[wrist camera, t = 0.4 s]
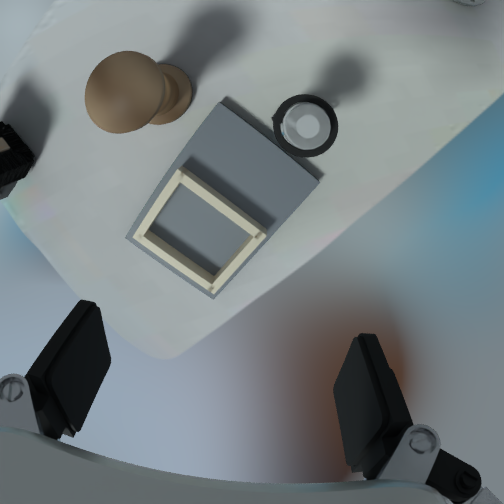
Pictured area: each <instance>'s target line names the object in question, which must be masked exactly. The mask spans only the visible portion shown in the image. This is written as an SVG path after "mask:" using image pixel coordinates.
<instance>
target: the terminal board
mask: <svg viewBox="0 0 504 504" xmlns="http://www.w3.org/2000/svg"><path fill="white" fill-rule="evenodd" d="M319 183H320V182H319V181H318V180H317V179H316V178H315V177H314V176H313V175H311V174H310V173H309V172H308V171H307V170H306V169H304V168H303V167H302V166H301V165H300V164H299V163H297V162H296V161H295V160H294V159H293V158H291V157H290V156H289V155H288V154H286V153H285V152H284V151H283V150H282V149H280V148H279V147H278V146H277V145H275V144H274V143H273V142H272V141H270V140H269V139H268V138H267V137H265V136H264V135H263V134H262V133H260V132H259V131H258V130H256V129H255V128H254V127H253V126H251V125H250V124H249V123H247V122H246V121H245V120H243V119H242V118H241V117H239V116H238V115H237V114H235V113H234V112H233V111H231V110H230V109H229V108H227V107H226V106H225V105H223V104H222V103H220V102H218V104H217V105H216V106H215V107H214V109H213V110H212V111H211V112H210V114H209V115H208V116H207V118H206V119H205V120H204V122H203V123H202V124H201V125H200V127H199V128H198V129H197V131H196V132H195V133H194V135H193V136H192V137H191V139H190V140H189V142H188V143H187V144H186V146H185V147H184V148H183V150H182V151H181V153H180V154H179V155H178V157H177V158H176V160H175V161H174V162H173V164H172V165H171V167H170V168H169V170H168V171H167V173H166V174H165V176H164V177H163V178H162V180H161V181H160V183H159V184H158V186H157V187H156V189H155V190H154V192H153V194H152V195H151V197H150V198H149V200H148V201H147V203H146V204H145V206H144V207H143V209H142V211H141V212H140V214H139V215H138V217H137V219H136V220H135V222H134V224H133V225H132V227H131V228H130V230H129V232H128V233H127V235H126V237H125V238H126V239H127V240H129V241H130V242H131V243H133V244H134V245H135V246H137V247H138V248H140V249H141V250H142V251H144V252H145V253H146V254H148V255H149V256H151V257H152V258H153V259H155V260H156V261H158V262H159V263H161V264H162V265H163V266H165V267H166V268H168V269H169V270H171V271H172V272H173V273H175V274H176V275H178V276H179V277H181V278H182V279H184V280H185V281H187V282H188V283H189V284H191V285H192V286H194V287H195V288H197V289H198V290H200V291H201V292H203V293H204V294H206V295H207V296H209V297H210V298H212V299H213V300H214V299H215V297H216V296H217V295H218V294H219V293H220V292H221V291H222V290H223V289H224V288H225V287H226V285H227V284H228V283H229V282H230V281H231V280H232V279H233V278H234V277H235V276H236V275H237V273H238V272H239V271H240V270H241V269H242V268H243V267H244V266H245V265H246V264H247V262H248V261H249V260H250V259H251V258H252V257H253V256H254V255H255V254H256V253H257V251H258V250H259V249H260V248H261V247H262V246H263V245H264V244H265V243H266V242H267V241H268V239H269V238H270V237H271V236H272V235H273V234H274V233H275V232H276V231H277V230H278V228H279V227H280V226H281V225H282V224H283V223H284V222H285V221H286V220H287V219H288V217H289V216H290V215H291V214H292V213H293V212H294V211H295V210H296V209H297V208H298V206H299V205H300V204H301V203H302V202H303V201H304V200H305V199H306V198H307V197H308V195H309V194H310V193H311V192H312V191H313V190H314V189H315V188H316V187H317V185H318V184H319Z"/></svg>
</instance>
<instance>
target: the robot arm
mask: <svg viewBox="0 0 504 504" xmlns="http://www.w3.org/2000/svg"><path fill="white" fill-rule="evenodd" d="M453 1H455V2H457V3H460V4H463V5H468V6H476V5H479V4H482V3H484V2H485V1H486V0H453ZM110 364H111V356H110V352H109V348H108V344H107V340H106V335H105V331H104V326H103V321H102V316H101V311H100V308H99V307H97V305H96V303H95V302H91V301H86V300H80V301H79V302H78V303H77V304H76V306H75V307H74V308H73V310H72V311H71V312H70V313H69V315H68V316H67V317H66V319H65V320H64V321H63V323H62V324H61V326H60V327H59V328H58V329H57V331H56V332H55V333H54V335H53V336H52V338H51V339H50V340H49V342H48V343H47V345H46V346H45V347H44V349H43V350H42V352H41V353H40V355H39V356H38V358H37V359H36V361H35V362H34V363H33V365H32V366H31V368H30V369H29V371H28V372H27V374H26V375H25V377H23V376H21V375H18V374H8V375H6V376H4V377H2V378H1V379H0V504H503V503H502V502H501V501H500V500H499V499H498V498H497V497H496V496H495V495H494V494H493V493H492V492H491V491H490V490H489V489H488V488H487V487H484V488H482V487H481V477H480V474H479V472H478V471H477V470H476V469H475V468H474V467H472V466H471V465H468V464H467V463H465V462H463V461H461V460H459V459H458V458H456V457H454V456H453V455H451V454H449V453H447V452H446V451H444V450H442V449H440V445H441V443H440V438H439V436H438V434H437V433H436V431H435V430H434V429H432V428H431V427H429V426H427V425H424V424H417V425H413V422H412V419H411V416H410V414H409V411H408V408H407V406H406V403H405V400H404V397H403V395H402V392H401V390H400V387H399V384H398V382H397V379H396V377H395V374H394V372H393V370H392V369H390V368H389V365H388V363H387V360H386V358H385V355H384V353H383V350H382V348H381V346H380V344H379V341H378V338H377V336H376V335H375V334H366V333H361V334H359V335H358V337H355V338H354V339H353V341H352V343H351V346H350V348H349V351H348V354H347V356H346V358H345V361H344V363H343V365H342V368H341V370H340V372H339V375H338V377H337V379H336V382H335V384H334V389H333V391H334V392H333V393H334V398H335V403H336V408H337V413H338V419H339V424H340V429H341V435H342V440H343V446H344V452H345V458H346V463H347V465H348V466H351V470H352V473H353V472H362V471H363V476H364V477H365V478H364V480H362V481H349V482H335V483H313V484H312V483H311V484H310V483H309V484H271V483H251V482H237V481H226V480H216V479H208V478H201V477H194V476H188V475H181V474H176V473H171V472H165V471H160V470H155V469H151V468H147V467H142V466H138V465H134V464H130V463H126V462H122V461H119V460H115V459H112V458H108V457H105V456H102V455H98V454H95V453H92V452H89V451H86V450H83V449H80V448H77V447H74V446H71V445H68V444H65V443H63V442H61V441H60V438H61V435H62V434H65V435H68V436H70V437H74V435H75V433H76V431H77V432H79V431H80V430H81V428H82V426H83V423H84V421H85V419H86V417H87V414H88V412H89V410H90V408H91V405H92V403H93V401H94V399H95V397H96V394H97V392H98V390H99V388H100V386H101V384H102V381H103V379H104V377H105V375H106V373H107V371H108V369H109V367H110Z"/></svg>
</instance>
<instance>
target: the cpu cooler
mask: <svg viewBox="0 0 504 504" xmlns="http://www.w3.org/2000/svg"><path fill="white" fill-rule="evenodd" d="M20 139H21V138H20V137H19V136H18V135H17V133H15V132H14V130H13V129H12V128H11V126H10V125H9V124H7V125H5V124H4V123H3V122H2V121H1V122H0V200H1V199H3V198H6V197H8V195H9V194H10V192H11V191H12V190H13V188H14V187H15V185H16V183H17V181H18V180H20V179H22V178H25V177H26V175H27V173H28V172H29V170H30V168H31V166H32V164H33V162H34V160H33V158H34V156H35V155H33V153H32V152H31V151H30V149H28V147H27V146H26V144H24V142H22V141H21V140H20Z"/></svg>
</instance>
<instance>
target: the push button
mask: <svg viewBox="0 0 504 504" xmlns="http://www.w3.org/2000/svg"><path fill="white" fill-rule="evenodd" d="M297 102H304V103H300V104H296V105H294V106H293V107H292V108H290V109H288V108H289V107H290V106H291V105H293V104H295V103H297ZM306 102H310V103H306ZM312 103H313V104H312ZM287 109H288V110H287ZM286 110H287V112H286V113H285V114H284V112H285V111H286ZM272 120H273V128H274V133H275V136H276V138H277V140H278V142H279V144H280V145H281V146H282V147H283V148H284V149H285V150H286V151H288V152H289V153H291V154H293V155H295V156H299V157H314V156H318V155H320V154H322V153H324V152H325V151H327V150H328V149H329V148H330V147H331V146H332V144H333V143H334V141H335V139H336V137H337V133H338V120H337V117H336V114H335V112H334V110H333V109H332V107H331V106H330V105H329V104H328V103H327V102H326V101H324V100H323V99H321V98H319V97H317V96H314V95H308V94H302V95H296V96H293V97H291V98H289V99H287V100H286V101H284V102H283V103H282V104H281V105H280V107H279V108H278V110H277V111H276V113H275V116H273V117H272ZM283 135H285V137H286V139H287V140H288V141H289V142H290V143H291V144H292V145H291V144H290V143H288V142H287V141H286V140H285V138H284V137H283Z"/></svg>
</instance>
